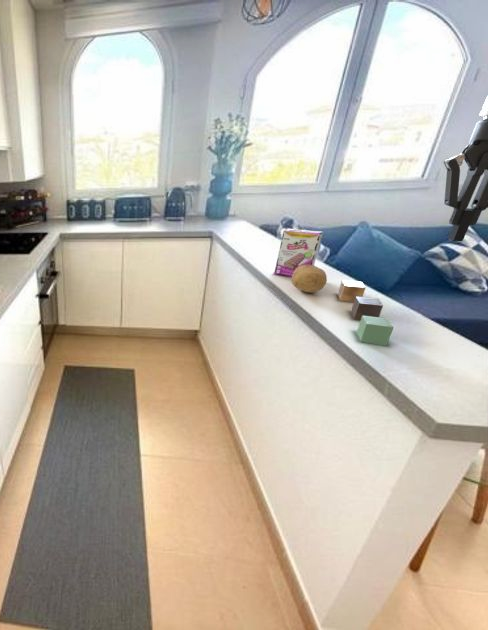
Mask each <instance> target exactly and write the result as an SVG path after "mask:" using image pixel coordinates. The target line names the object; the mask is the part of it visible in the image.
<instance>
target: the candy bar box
mask: <svg viewBox="0 0 488 630" xmlns="http://www.w3.org/2000/svg"><path fill="white" fill-rule="evenodd" d="M282 232H283V233H282V237H281V242H280V246H279V250H278V253H277V254H278V255H277V259H276V264H275V269H274V275H280V276H285V277H290V278H292V275H293V273H294V271H295V270H296V268H297V267H299V266H301V265H314V266H315V263H316V260H317V256H318V252H319V249H320V245H321V242H322V238H323V234H324V231H318V230H308V229H298V228H288V227H287V228H286V229H284V230H283V231H282Z"/></svg>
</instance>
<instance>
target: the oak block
mask: <svg viewBox="0 0 488 630" xmlns="http://www.w3.org/2000/svg"><path fill="white" fill-rule="evenodd" d="M365 291H366V286H365V284H364V283H363V281H357V280H343V279H341V281H340V285H339V287H338V292H337V297H338V299H339V301H340V302H347V303H354V300H355V297H356V296H357V297H364V294H365Z"/></svg>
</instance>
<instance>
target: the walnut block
mask: <svg viewBox="0 0 488 630" xmlns="http://www.w3.org/2000/svg"><path fill="white" fill-rule="evenodd" d="M383 307H384V304H383V303H382V302H381V300H380V299H379V298H375V297H365V296H363V297H357V296H356V297H355V300H354V302H352V307H351V310H350V314H351V316H352V318H353V320H354V321H361V318H362V315H363V316H371V317H380V315H381V312H382V311H383Z"/></svg>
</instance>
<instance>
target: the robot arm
mask: <svg viewBox="0 0 488 630" xmlns="http://www.w3.org/2000/svg"><path fill="white" fill-rule="evenodd" d="M479 117H480V118H482V120H479V121H478V122H476V124H475V127H474V129H473V132H472V134H471V137H470V139H469V142H468V144H467V145H466V146H465V148H464V149H463V150H462V151H461V153H460V154H457V155H455V156H453V157H451V158H450V157H447V158H446V159H444V161H443V165H444V167H445V170H446V176H445V177H446V178H445V191H444V202H443V203H444V205H445V206H449V207H450V208H453V211H452V213H451V216H450V219H449V221H448V223H449V224H450V225H452V227H451V229H450V232H449V234H448V236H447V239H448V240H450V241H452V242H464V239H465V237H466V234H467V232H468V231H469V228H470V226H475V225H477V223H478V220H479V218H480V216H481V213H482V212H483V211H486V209H488V96H487V97H486V99H485V101H484V104H483V106H482V110H481V111H480V113H479ZM463 161H464V162H465V163H466V166H467V168H468V169H467V171H466V176H465V179H464V181H463V184H462V186H461V188H460V189H459V187H460V177H461V166H462V165H463V163H464V162H463ZM482 176H483V177H482ZM481 177H482V179H481ZM480 179H481V181H480ZM479 182H480V184H479ZM478 184H479V186H478ZM477 186H478V188H477ZM476 189H477V191H476ZM459 190H460V191H459ZM475 191H476V193H475ZM474 193H475V196H474ZM473 196H474V197H473ZM472 198H473V199H472ZM471 200H472V202H471ZM470 202H471V205H470ZM469 205H470V208H469Z"/></svg>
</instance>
